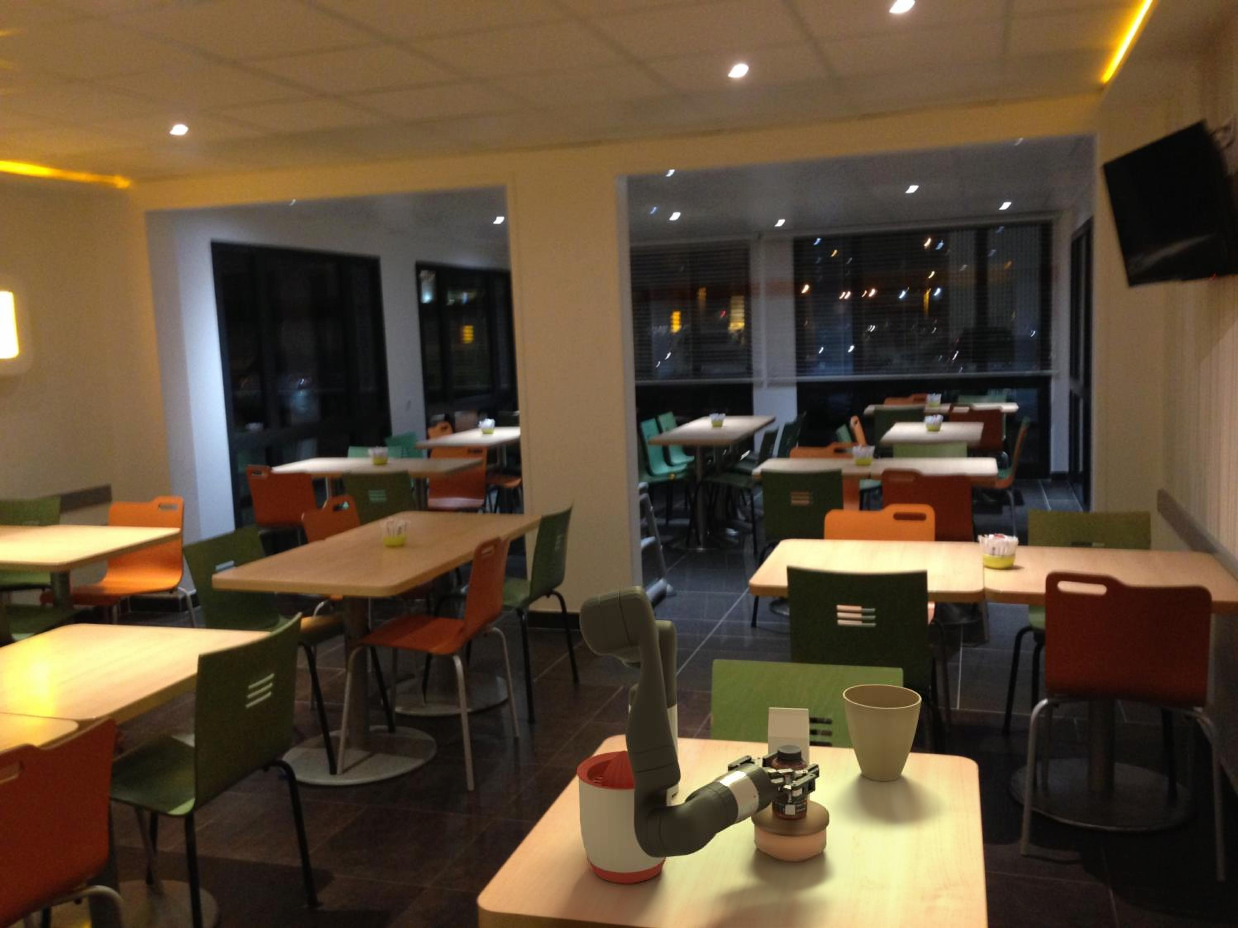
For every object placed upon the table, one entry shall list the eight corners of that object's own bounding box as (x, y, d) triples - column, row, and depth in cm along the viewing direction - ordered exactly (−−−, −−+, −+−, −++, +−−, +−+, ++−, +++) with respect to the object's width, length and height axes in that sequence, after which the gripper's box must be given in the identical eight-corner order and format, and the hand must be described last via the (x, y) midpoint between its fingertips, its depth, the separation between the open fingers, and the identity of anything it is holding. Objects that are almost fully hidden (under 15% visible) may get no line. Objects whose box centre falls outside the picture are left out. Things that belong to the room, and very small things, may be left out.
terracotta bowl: (760, 868, 175) (760, 836, 174) (749, 835, 187) (748, 804, 186) (834, 865, 175) (833, 833, 174) (817, 832, 187) (817, 802, 186)
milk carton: (808, 818, 193) (807, 715, 191) (768, 815, 194) (767, 714, 192) (809, 801, 200) (809, 702, 198) (771, 799, 201) (770, 701, 199)
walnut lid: (757, 837, 174) (757, 831, 173) (745, 803, 186) (745, 798, 186) (837, 834, 174) (837, 828, 174) (819, 800, 187) (819, 795, 187)
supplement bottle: (799, 824, 176) (798, 757, 175) (765, 816, 179) (765, 751, 178) (813, 809, 181) (812, 745, 180) (780, 802, 184) (779, 739, 183)
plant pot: (909, 794, 201) (909, 712, 200) (833, 780, 209) (832, 701, 207) (929, 766, 214) (929, 689, 212) (856, 754, 222) (856, 679, 220)
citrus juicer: (701, 861, 178) (699, 745, 175) (628, 902, 165) (624, 777, 163) (633, 833, 189) (630, 723, 186) (560, 869, 176) (555, 752, 174)
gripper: (775, 783, 164) (833, 751, 175) (701, 760, 173) (761, 732, 185) (776, 830, 164) (833, 795, 176) (702, 805, 174) (761, 774, 186)
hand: (796, 763), depth 181 cm, fingers open, 7 cm apart
